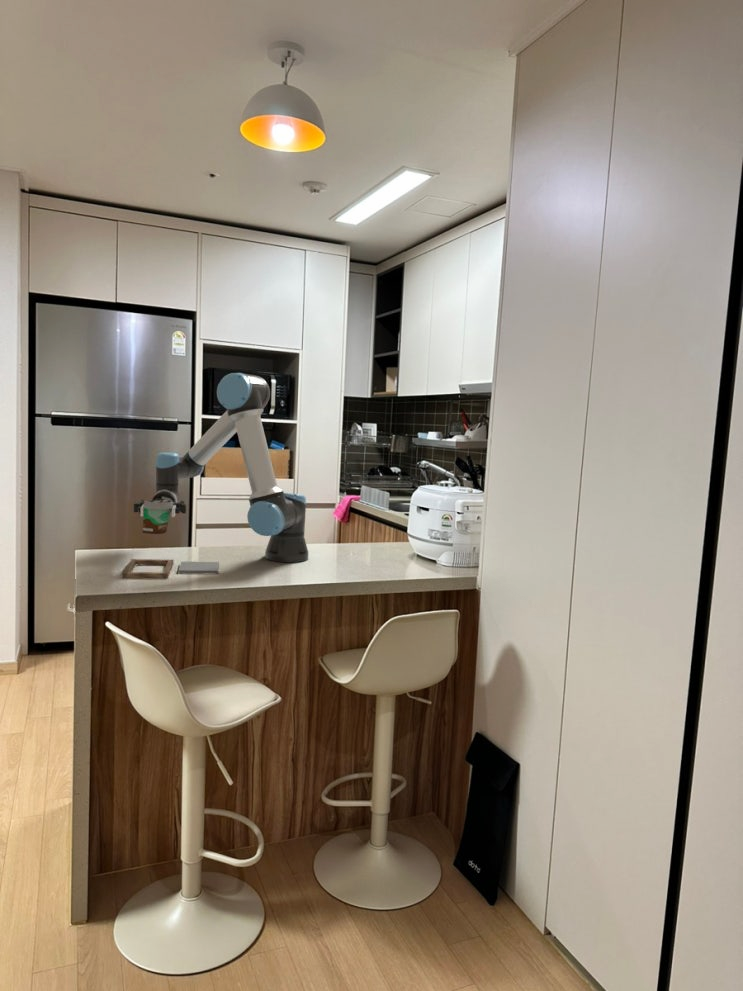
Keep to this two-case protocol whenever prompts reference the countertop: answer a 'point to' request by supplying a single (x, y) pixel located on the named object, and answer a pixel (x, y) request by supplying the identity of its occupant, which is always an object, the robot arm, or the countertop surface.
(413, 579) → the countertop surface
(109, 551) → the countertop surface
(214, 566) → the plate
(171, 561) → the walnut holder
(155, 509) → the food container
